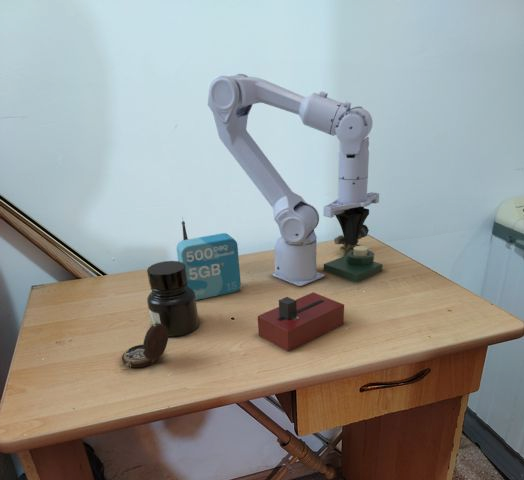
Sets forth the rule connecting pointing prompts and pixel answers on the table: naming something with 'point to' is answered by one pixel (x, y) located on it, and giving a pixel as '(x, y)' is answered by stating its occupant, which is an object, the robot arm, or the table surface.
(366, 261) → the button block
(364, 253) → the button
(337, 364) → the table surface
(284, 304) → the slider knob
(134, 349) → the compass
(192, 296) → the ink bottle
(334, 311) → the slider base
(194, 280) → the data package
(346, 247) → the eagle figurine
